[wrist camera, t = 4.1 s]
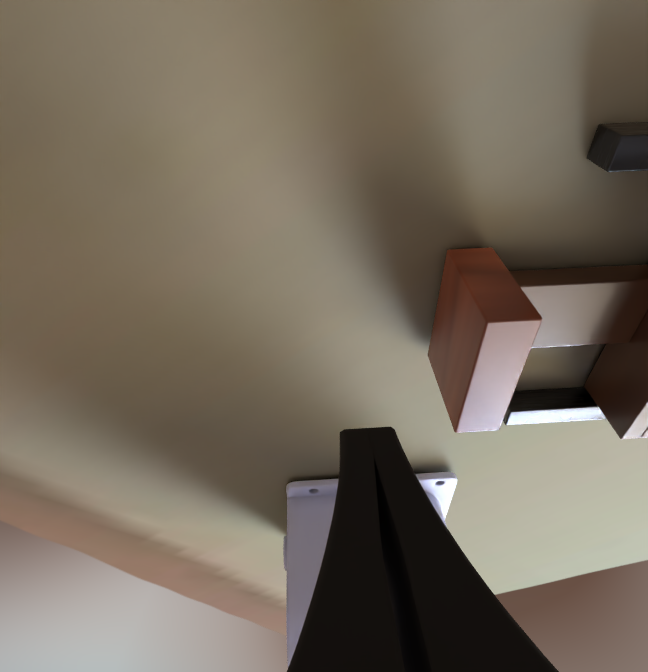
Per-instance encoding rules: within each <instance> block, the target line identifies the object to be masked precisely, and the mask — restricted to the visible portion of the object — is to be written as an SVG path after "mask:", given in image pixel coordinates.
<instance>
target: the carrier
mask: <svg viewBox="0 0 648 672" xmlns="http://www.w3.org/2000/svg"><path fill="white" fill-rule="evenodd" d="M594 344H606V346H605V347H604V349H603V351H602V353H601V355H600V357H599V358H598V360H597V362H596V364H595V366H594V368H593V370H592V371H591V373H590V375H589V377H588V379H587V381H586V383H585V384H584V387H585V388H586V390H587V391H588V393H589V394H590V395H591V397H592V398H593V400H594V401H595V403H596V404H597V406H598V407H599V408H600V410H601V411H602V413H603V414H604V416H605V417H606V419H607V420H608V421H609V423H610V424H611V426H612V427H613V429H614V430H615V431H616V433H617V434H618V436H619V437H620V439H633V438H640V437H648V264H645V265H624V266H604V267H584V268H563V269H543V270H522V271H509V270H508V269H507V267H506V266H505V265H504V263H503V262H502V260H501V259H500V258H499V256H498V255H497V253H496V252H495V251H494V249H493V248H469V249H449V250H447V254H446V260H445V265H444V270H443V276H442V281H441V286H440V292H439V297H438V303H437V308H436V313H435V319H434V324H433V330H432V335H431V340H430V346H429V351H428V357H429V360H430V363H431V366H432V369H433V371H434V374H435V377H436V380H437V383H438V386H439V389H440V391H441V394H442V397H443V400H444V403H445V406H446V409H447V411H448V414H449V417H450V420H451V423H452V426H453V429H454V431H455V432H456V433H457V432H474V431H491V430H499V429H500V426H501V424H502V421H503V419H504V416H505V414H506V411H507V409H508V406H509V404H510V401H511V398H512V396H513V393H514V391H515V388H516V386H517V383H518V381H519V378H520V376H521V373H522V370H523V368H524V365H525V363H526V360H527V358H528V355H529V353H530V350H531V348H539V347H558V346H576V345H594Z"/></svg>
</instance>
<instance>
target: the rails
mask: <svg viewBox="0 0 648 672" xmlns="http://www.w3.org/2000/svg"><path fill="white" fill-rule="evenodd" d="M587 159H588V160H590V161H591V162H593V163H594V164H596V165H598V166H599V167H601V168H602V169H604V170H605V171H607V172H621V171H644V170H648V122H638V123H612V124H599V125H598V128H597V130H596V133H595V136H594V139H593V141H592V144H591V147H590V150H589V152H588V155H587ZM598 419H606V417H605V416H604V414H603V413H602V411H601V410H600V408H599V407H598V406H597V404H596V403H595V401H594V400H593V398H592V397H591V395H590V394H589V393H588V391H587V390H586V388H585V387H579V388H562V389H545V390H527V391H514V393H513V396H512V398H511V401H510V404H509V406H508V409H507V411H506V414H505V416H504V419H503V421H504V423H505V425H515V424H531V423H548V422H565V421H581V420H598Z"/></svg>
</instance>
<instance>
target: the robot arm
mask: <svg viewBox="0 0 648 672" xmlns="http://www.w3.org/2000/svg"><path fill="white" fill-rule="evenodd" d="M456 483H457V477H456V474H455V473H453V472H435V473H420V474H415V473H414V471H413V469H412V467H411V465H410V463H409V461H408V459H407V457H406V455H405V453H404V451H403V449H402V446H401V444H400V442H399V440H398V437H397V435H396V432H395V430H394V429H393V428H392V427H378V428H361V429H345V430H343V431H341V432H340V471H339V479H325V480H309V481H294V482H291V483H289V484H288V485H287V487H286V493H287V535H286V536H284V548H283V550H284V568H285V570H286V571H287V658H288V670H287V672H559V671H558V670H557V669H556V668H555V667H554V666H553V665H552V664H551V663H550V661H548V659H547V658H546V657H545V656H544V655H543V653H542V652H541V651H540V650H539V649H538V647H536V645H535V644H534V643H533V642H532V641H531V639H530V638H529V637H528V636H527V635H526V633H525V632H524V631H523V630H522V629H521V627H520V626H519V625H518V624H517V622H515V620H514V619H513V618H512V617H511V615H510V614H509V613H508V612H507V610H506V609H505V608H504V607H503V605H502V604H501V603H500V602H499V600H498V599H497V598H496V596H495V595H494V594H493V592H492V591H491V590H490V589H489V587H488V586H487V585H486V583H485V582H484V581H483V579H482V578H481V577H480V575H479V574H478V572H477V571H476V570H475V568H474V567H473V566H472V564H471V563H470V561H469V560H468V559H467V557H466V556H465V554H464V553H463V551H462V550H461V548H460V547H459V546H458V544H457V543H456V541H455V539H454V538H453V536H452V535H451V533H450V532H449V530H448V529H447V527H446V523H445V516H446V513H447V510H448V507H449V504H450V501H451V498H452V495H453V492H454V489H455V486H456Z"/></svg>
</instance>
